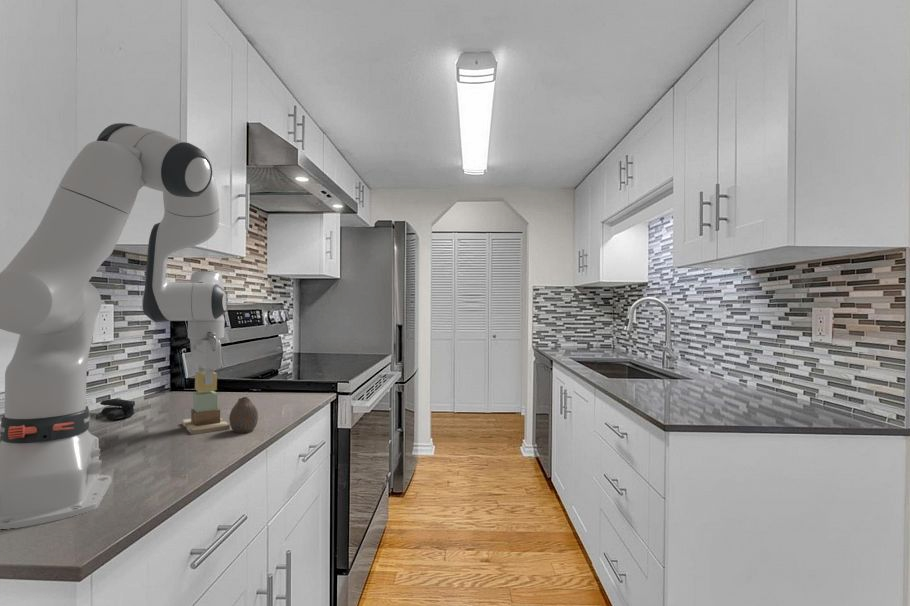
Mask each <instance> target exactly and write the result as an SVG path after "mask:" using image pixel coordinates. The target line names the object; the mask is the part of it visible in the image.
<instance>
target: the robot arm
mask: <svg viewBox="0 0 910 606" xmlns="http://www.w3.org/2000/svg"><path fill="white" fill-rule="evenodd" d="M143 187H146V188H149V189H151V190H155V191H158V192H159V191H160V192H162V197H163V199H162V200H163V207H164V208H163V209H164V214H163V217H162V220H161V221H160V222H157V223H154V225H153V226H152V229H151V231H150V234H149V238H148V244H147V252H146V254H147V255H146V267H145V268H146V270H145V279H144V280H145V282H144V290H143V293H142V298H141V308H142V312H143V315H145V316H146V317H147V318H149V319H150V320H152V321H153V322H155V323H167V322H173V321H174V322H183V321H184V322H187V339H189V345H190V357H191V360H192V361H191V362H192V363H194V364H195V365H197V366H198V367H197V368H198V372H205V378H204V384H206V385H210V384H212V380H213V374H214V372H215V370H219V369H221V368H222V344H221V341H220V339H223V338H225V317H224V315H225V313H227V311H228V292H227V291H226V289H225V286H224V281H223V275H222V274H221V273H220V272H217V271H213V270H212V271H211V270H198V271H193V272H192V273H191V275H190V279H189V280H190V281H189V282H175V281H171V280H168V279H167V269H168V259H169V256H171V255H172V254H173V253H176V252H178V251H182V250H184V249H187V248H193V247H195V246H198V245H201V244H203V243H205V242H207V241H208V240H210V239H211V238H212V237H213V236H215V234H216V233H217V231H218V229H219V227H220V202H219V195H218V194H219V193H218V189H217V184H216V180H215V176H214V172H213V167H212V163H211V161H210V158H209V157H208V155H207V154H206V153H205V151H204V150H202V149H201V148H200V147H198V146H196V145H194V144H192V143H189V142H184V141H183V140H180V139H178V138H175V137H172V136H170V135H168V134H166V133H164V132H161V131H159V130H155V129H152V128H147V127H140V126H138V125H136V124H133V123H125V122H118V123H112V124H110V125H108V126H107V127H105V128H104V129H103V130H102V131H101V133H100V134H99V135H98V137H97V139H96V140H94V141H91V142H88V143H87V144H86V145H85V146H84V147H83V148H82V149H81V150H80V152H79V153H78V154H77V156H76V157H75V158H74V159H73V161H72V162H71V164H69V167H68V168H67V170H66V171H65V173H64V175H63V176H62V178H61V180H60V182H59V184H58V187H57V189H56V191H55V192H54V195H53V197H52V199H51V200H50V203H49V205H48V207H47V209H46V211H45V212H44V214H43V217H42V219H41V221H40V222H39V225H38V226H37V228H36V230H35V231H34V233H33V234H32V235H31V236H30V238H29V239H28V240H27V241H26V243H25V244H24V245H23V247H22V248H21V249H20V250H19V252H17V254H16V255H15V256H14V258H13V259H12V260H11V261H10V262H9V264H7V266H6V267H5V268H4V269H3V270H2V271H1V272H0V330H3V331H5V332H9V333H12V334H17V335H19V337H18V341H17V344H16V348H15V351H14V354H13V356H12V358H11V360H10V361H9V363H8V365H7V366H6V369H5V372H4V415H3V416H1V418H0V419H1V420H0V440H1V442H0V529H8V530H10V529H9V528H15V529H19V528H20V527H21V528H26V527H31V526H32V527H33V526H35V525H36V526H38V525H42V524H46V523H51V522H56V521H60V520H64V519H67V518H68V517H69V518H71V517H72V516H73V517H75V515H76V516H79V514H80V515H83V514H86V513H88V511H89V512H91V511H94V510H96V509H97V508H98V507H99V506H100V504H101V502H102V501H103V498H104V497H105V495H106V493H107V491H108V489H109V488H110V486H111V484H112V482H113V479H112V475H109V474H101V473H102V468H103V460H102V459H99V457H101V452H102V451H101V450H102V449H101V448H99V438H98V437H97V436H96V435H93V434H92V433H91V432H90V431H89V428H90V419H91V418H90V417H91V415H90V410H89V408H88V407H87V379H88V377H87V374H88V373H87V372H88V371H87V370H88V362H89V361H88V360H89V356H90V351H91V346H92V342H93V338H94V337H93V336H94V332H95V327H96V321H97V317H98V314H99V313H100V310H101V307H102V297H101V295H100V292H99V290H98V288H96V286H94V285H93V284H92V283H91V282H90V280H91V278H92V277H94V275H95V273H96V272H97V270H98V269H99V268H100V266H101V265H102V264H103V263H104V262H105V261H106V260H107V259H108V258H109V257H110V256H111V255H112V254H113V252H114V250H115V248H116V245H117V243H118V240H119V239H120V237H121V234H122V232H123V230H124V227H125V226H126V223H127V221H128V219H129V216H130V214H131V212H132V210H133V207H134V205H135V201H136V199H137V196H138V193H139V191H140V189H142V188H143ZM109 485H110V486H109ZM103 496H104V497H103ZM98 505H99V506H98ZM93 509H94V510H93ZM90 510H91V511H90ZM85 512H86V513H85ZM82 513H83V514H82Z"/></svg>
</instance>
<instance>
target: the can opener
mask: <svg viewBox="0 0 910 606" xmlns="http://www.w3.org/2000/svg"><path fill="white" fill-rule="evenodd" d="M99 404H100V405H101V406H109V407H105V408H103V409H102V410H101V413H103V414H105V417H106V419H107V420H111V421H115V420H119V419H128V418H130V417H132V416H134V415H135V414H136V413H135V412H134V411H135V409H134V407H135V404H136V403H135V400H127V399H121V397H117V398H111V399H105V400H102V401H101V402H100V403H99Z"/></svg>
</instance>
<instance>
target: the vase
mask: <svg viewBox="0 0 910 606" xmlns="http://www.w3.org/2000/svg"><path fill="white" fill-rule="evenodd" d="M228 419H229V425H230V429H231V430H233V432H234V433H236V434H246V433H250V432H252V431H254V430H255V428H256V427H257V424H258V422H259V413H258V408H257V407H256V406H255V404H253V402H252V400H251V399H250V397H249V396H244V397H243V396H242V397H239V398H238V400H237V402H236V403H235V405H234V406H233V407H232V408H231V409H230V414H229V417H228Z"/></svg>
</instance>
